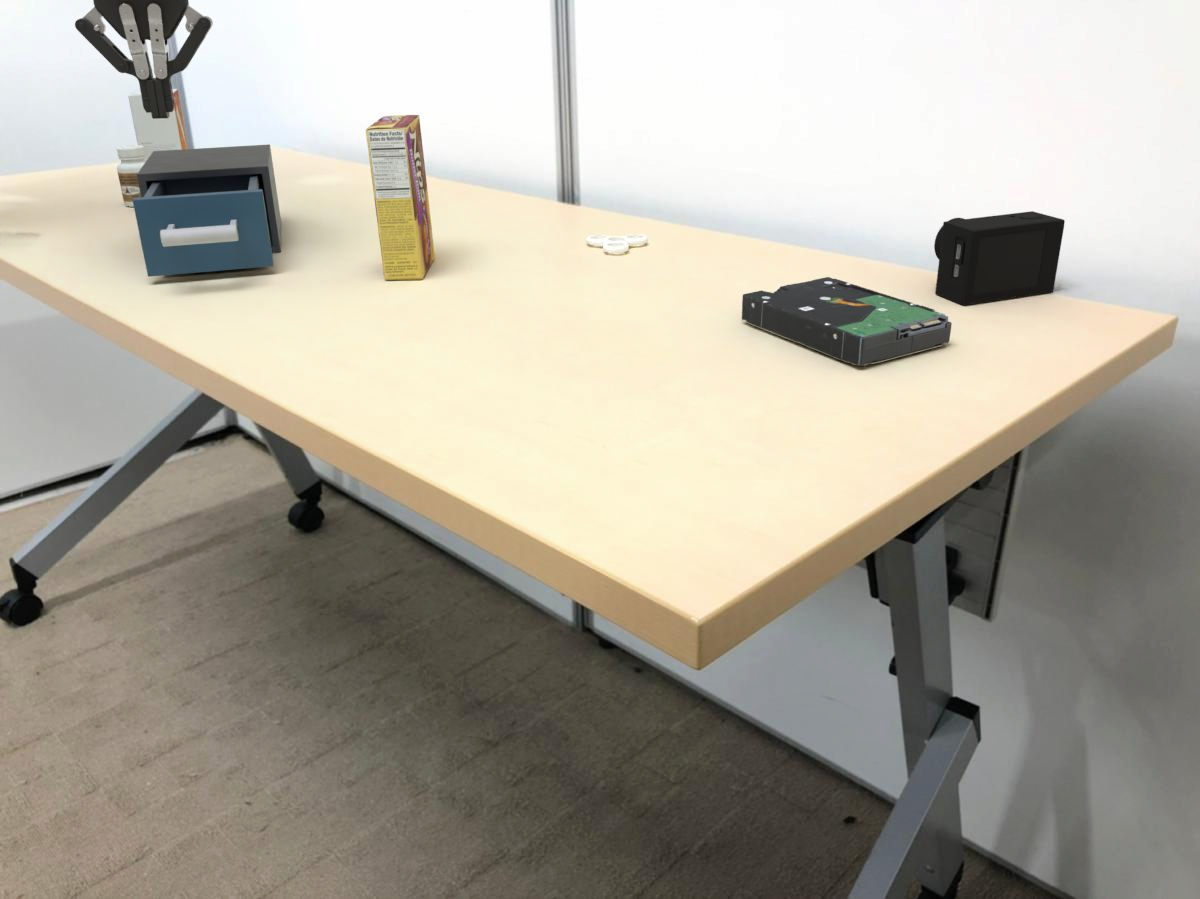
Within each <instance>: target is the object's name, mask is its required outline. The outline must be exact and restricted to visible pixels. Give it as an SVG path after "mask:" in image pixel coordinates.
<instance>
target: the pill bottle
mask: <svg viewBox="0 0 1200 899" xmlns="http://www.w3.org/2000/svg"><path fill="white" fill-rule="evenodd" d="M116 153H117V157H118V160H120V163H119V164H118V165H117V166H116V171H117V176H118V180H119V185H120V191H121V195H122V200H123V204H124V206H126V207H128V206H129V207H130V208H134V205H133V199H134V198H139V197H141V194H140V189H139V184H138V179H137V173H138V172H139V171H140V169H141V168H142V166H143V165H144V164H145V162H146V161H145V159H144V158H145V157H146V156H145V150H144V146H141V145H138V144H135V145H134V144H133V145H123V146H119V147H116Z"/></svg>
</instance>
